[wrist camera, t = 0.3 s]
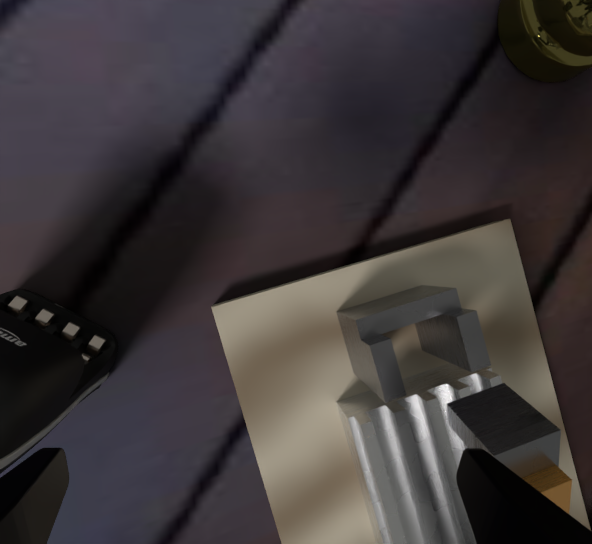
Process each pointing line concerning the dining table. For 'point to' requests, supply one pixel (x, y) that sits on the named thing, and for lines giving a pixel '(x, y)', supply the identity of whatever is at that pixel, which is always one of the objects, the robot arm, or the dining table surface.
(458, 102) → the dining table surface
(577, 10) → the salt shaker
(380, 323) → the bracket
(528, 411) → the strap
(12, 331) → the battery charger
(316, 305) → the base board
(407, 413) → the finned block
